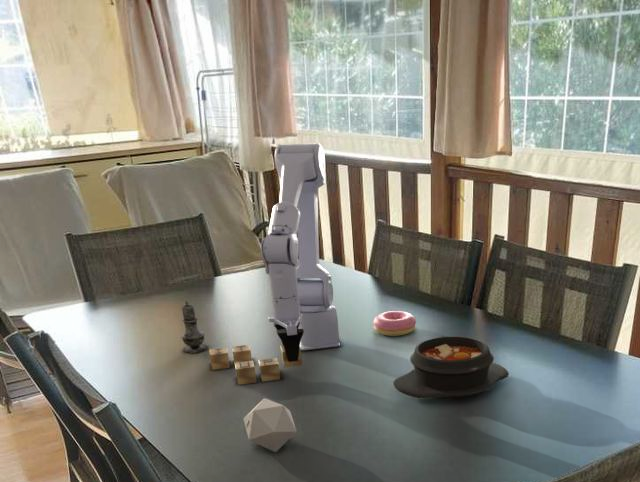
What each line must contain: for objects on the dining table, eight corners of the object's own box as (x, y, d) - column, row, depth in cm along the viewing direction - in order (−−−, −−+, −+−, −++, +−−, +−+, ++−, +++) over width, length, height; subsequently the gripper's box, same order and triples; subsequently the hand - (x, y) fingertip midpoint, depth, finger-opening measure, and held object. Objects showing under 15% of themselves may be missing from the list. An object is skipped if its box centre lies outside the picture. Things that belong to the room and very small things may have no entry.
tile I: (229, 361, 162) (226, 346, 160) (230, 367, 159) (227, 352, 157) (211, 364, 161) (209, 349, 159) (212, 370, 158) (209, 354, 156)
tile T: (251, 359, 163) (249, 344, 161) (252, 365, 160) (250, 349, 158) (234, 361, 162) (231, 346, 160) (235, 367, 159) (232, 352, 157)
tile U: (255, 375, 154) (252, 360, 152) (256, 382, 150) (254, 366, 149) (237, 378, 153) (234, 362, 151) (238, 384, 150) (235, 368, 148)
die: (261, 434, 130) (228, 406, 122) (300, 410, 128) (269, 380, 120) (270, 468, 125) (237, 441, 117) (310, 443, 123) (279, 414, 115)
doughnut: (366, 335, 174) (365, 319, 171) (382, 322, 182) (382, 306, 180) (407, 339, 170) (407, 323, 168) (421, 325, 178) (421, 309, 176)
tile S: (299, 359, 154) (298, 343, 152) (302, 365, 151) (300, 349, 149) (282, 361, 153) (280, 345, 152) (284, 367, 150) (282, 351, 148)
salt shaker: (201, 353, 168) (192, 304, 161) (179, 352, 169) (169, 304, 162) (211, 345, 173) (202, 297, 166) (189, 344, 174) (180, 297, 167)
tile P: (278, 372, 155) (276, 357, 153) (280, 379, 151) (278, 363, 149) (260, 375, 154) (258, 359, 152) (262, 381, 151) (260, 365, 149)
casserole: (422, 416, 132) (422, 375, 128) (377, 384, 146) (376, 346, 142) (527, 388, 142) (530, 348, 137) (475, 361, 156) (476, 324, 151)
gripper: (262, 288, 150) (270, 348, 157) (269, 306, 138) (277, 371, 145) (294, 285, 151) (300, 345, 158) (304, 302, 139) (310, 366, 146)
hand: (291, 357), depth 151 cm, fingers closed on tile S, 4 cm apart
